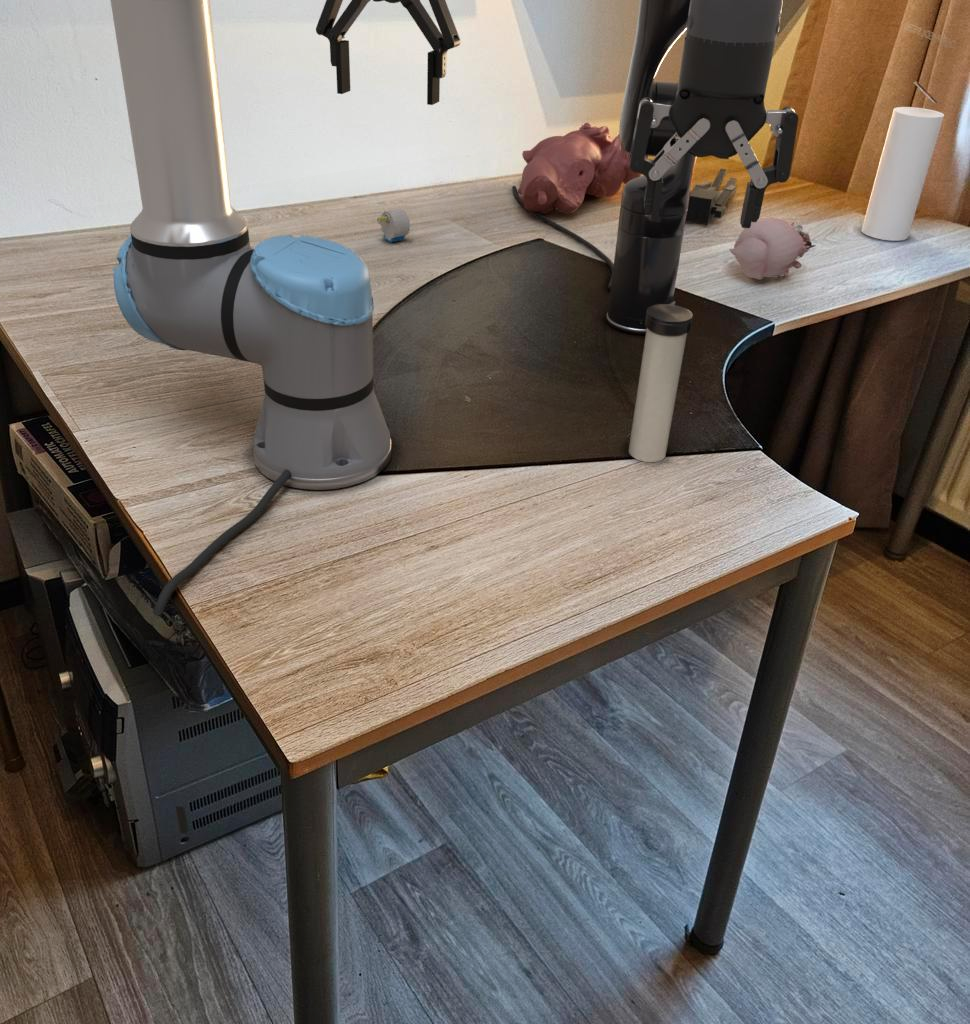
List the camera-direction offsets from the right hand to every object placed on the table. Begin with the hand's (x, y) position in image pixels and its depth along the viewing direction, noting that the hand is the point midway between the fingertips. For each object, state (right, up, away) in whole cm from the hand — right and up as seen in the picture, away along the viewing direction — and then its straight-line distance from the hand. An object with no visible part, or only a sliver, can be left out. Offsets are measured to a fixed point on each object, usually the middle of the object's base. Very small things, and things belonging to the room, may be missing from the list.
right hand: (698, 222), depth 90 cm
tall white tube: (+56, +26, +95) cm, 113 cm away
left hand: (-34, +31, +44) cm, 64 cm away
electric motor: (-37, +20, +79) cm, 89 cm away
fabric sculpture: (-2, +34, +102) cm, 107 cm away
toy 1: (+26, +35, +105) cm, 114 cm away
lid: (-1, -6, +12) cm, 14 cm away
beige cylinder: (-1, -20, +21) cm, 30 cm away
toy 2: (+27, +13, +73) cm, 79 cm away
